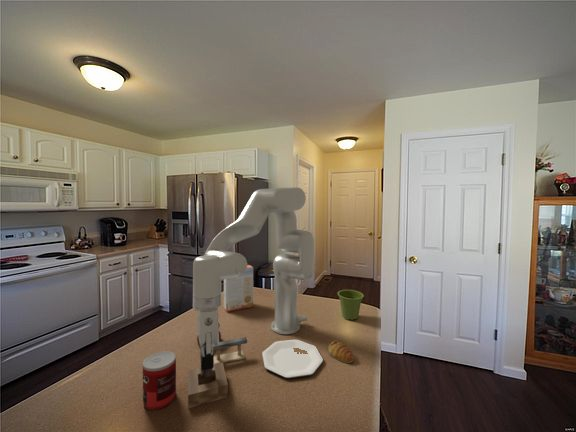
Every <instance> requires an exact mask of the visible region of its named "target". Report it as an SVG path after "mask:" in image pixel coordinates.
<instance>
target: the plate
mask: <svg viewBox="0 0 576 432" xmlns="http://www.w3.org/2000/svg"><path fill="white" fill-rule="evenodd" d="M293 348H299V349H301V350H305V351H307V353H308V354H303V353H302V354H300V352H299V354H297V352H294V349H293ZM261 355H262V361H263V366H264V368H265V369H266V370H267V371H269V372H271V373H273V374H276V375H278V376H280V377H281V378H284V379H289V380H290V379H294V378H301V377H308V376H312V375H314V374H315V372H316V371H317V370H318V369H319V367H320V366H321V365H322V364H323V362H324V358H323V357H322V355H321V354H320V352H319V350H318V348H317V347H316V346H315V345H313V344H311V343H307V342H305V341H302V340H299V339H289V340H287V339H286V340H277V341H274V342H273V343H272V344H270V346H268V347H267V348H266V349H264V350H263V351H262V353H261Z"/></svg>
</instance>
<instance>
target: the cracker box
mask: <svg viewBox="0 0 576 432" xmlns="http://www.w3.org/2000/svg"><path fill="white" fill-rule="evenodd" d="M223 308H224V310H225V312H226V313H228V312H233V311H237V310H238V311H239V310H243V309H249V308H254V266H252V265H250V264H247V268H246V271H245V272H244V273H243V274H242V275H241V276H239V277H237V278H232V279H223Z"/></svg>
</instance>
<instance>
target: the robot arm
mask: <svg viewBox="0 0 576 432" xmlns="http://www.w3.org/2000/svg"><path fill="white" fill-rule="evenodd" d="M305 203H306V193H305V191H304V190H303V188H301V187H298V186H297V187H293V186H292V187H271V188H260V189H256V190H255V191H253V193H252V194H251V196H250V197H249V199H248V201H247V203H246V205H245V206H244V208H243V210H242V211H241V213H240V215H239V216H238V218H237V219H236V220H235V221H234V222H233V223H231V224H229V225H227V226H226V227H225V228H224V229H223V230H221V231H220V232H219V233H218V234H217V235H216V236H215V237H214V238H213V239H212V240H211V242H210V243H209V245H208V247H207V249H206V250H205V251H204V252H205V253H204V255H200V256H197V257H196V258H194V260H193V264H192V308H193V310H194V311H197V333H198V334H197V336H198V335H199V342H200V346H199V348H200V351H199V352H200V368H201V370H202V371H203V370H208V369H212V368H213V367H214V356H215V355H214V350H213V343H214V345H218V344H219V331H220V327H219V326H218V322H219V310H218V309H219V308H220V307H221V306H222V281H224V279H232V278H237V277H239V276H241V275H242V274H243V273H244V272H245V271H246V268H247V265H248V261H247V259H246V257H245V256H244V255H243V254H242V253H238V252H234V251H229V249H230V248H232V247H233V245H235V244H237V243H239V242H241V241H243V240H247V239H249V238H252V237H254V236H256V235H258V234H259V233H260V232H261V230H262V228H263V226H264V224H265V223H266V220H267V219H268V216H269V214H271V213H272V214H274V216H275V219H276V220H275V221H276V245H277V248H278V250H280V251H282V252H289V253H294V254H289V253H280V254H278V255H276V256H275V257H274V259H273V261H272V270H273V275H274V319H273V321H272V322H271V323H270V329H271V330H272V331H273V332H274V333H276V334H280V335H292V334H295V333H297V332H299V330H300V329H301V324H300V323H301V322H307V321H308V318H307V317H308V316H306V315H305V316H303V315H302V314H298V284H297V282H296V280H297V281H298V280H299V281H309V280H310V279H311V278H312V277H313V274H314V269H315V239H314V236H313V234H312V233H311V232H310V231H308V230H304V229H298V224H297V223H298V222H297V220H298V219H297V216H296V213H295V211H299V210H301V209H302V208H303V207H304V206H305ZM295 254H298V255H295ZM204 343H206V344H204ZM201 348H202V355H201ZM205 348H206V350H205Z"/></svg>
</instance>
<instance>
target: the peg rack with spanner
mask: <svg viewBox="0 0 576 432" xmlns="http://www.w3.org/2000/svg"><path fill="white" fill-rule="evenodd" d="M245 344H248V339H247V337H246V336H244V337H239V338H233V339H228V340H223V341H220V342H219V344H218V345H214V343H213V351H215V350H216V355H214V365H215V364H220V363H223V364H226V363H230V362H236V361H239V360H244V359H245V358H246V356H245V354H244V351H243V350H242V345H245ZM236 346H237V350H236V351H232V352H228V353H223V354H221V349H225V348H230V347H236Z"/></svg>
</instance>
